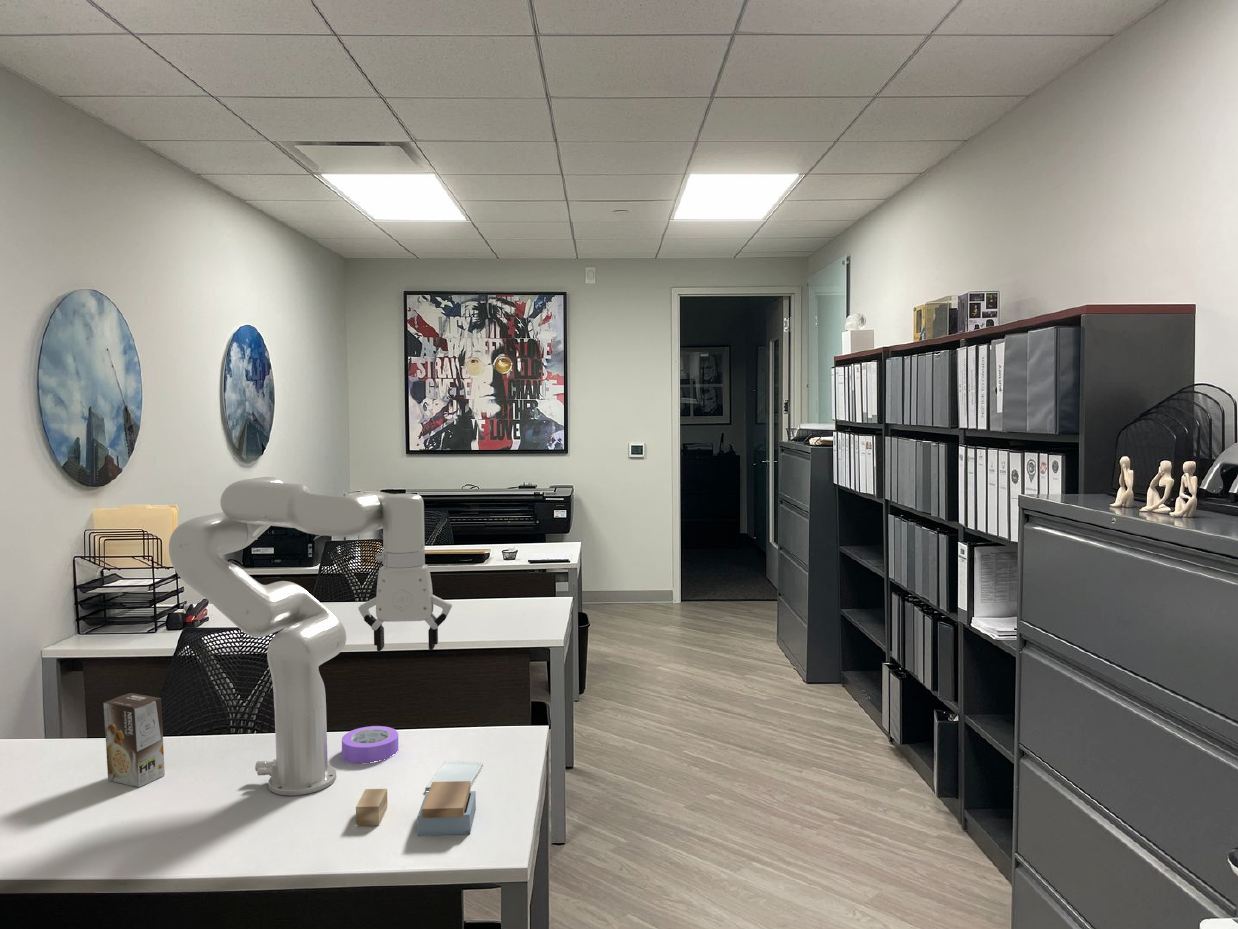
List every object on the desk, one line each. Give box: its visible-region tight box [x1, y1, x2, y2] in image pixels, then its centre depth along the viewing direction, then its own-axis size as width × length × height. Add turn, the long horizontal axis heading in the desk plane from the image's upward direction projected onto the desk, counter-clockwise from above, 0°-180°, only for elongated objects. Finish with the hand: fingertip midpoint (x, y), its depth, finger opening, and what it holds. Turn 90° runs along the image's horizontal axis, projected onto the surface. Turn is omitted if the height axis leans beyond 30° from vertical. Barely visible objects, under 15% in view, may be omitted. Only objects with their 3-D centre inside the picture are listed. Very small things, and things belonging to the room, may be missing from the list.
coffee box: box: [103, 692, 166, 788], centre depth 172 cm, size 9×6×16 cm
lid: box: [422, 781, 472, 818], centre depth 154 cm, size 7×10×2 cm, turn 3°
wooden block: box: [355, 788, 388, 827], centre depth 156 cm, size 4×7×4 cm, turn 3°
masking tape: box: [341, 725, 399, 765], centre depth 185 cm, size 12×12×4 cm
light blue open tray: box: [416, 790, 477, 836], centre depth 154 cm, size 9×9×4 cm
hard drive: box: [424, 760, 484, 791], centre depth 172 cm, size 2×8×12 cm
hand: (406, 648), depth 163 cm, fingers open, 9 cm apart
